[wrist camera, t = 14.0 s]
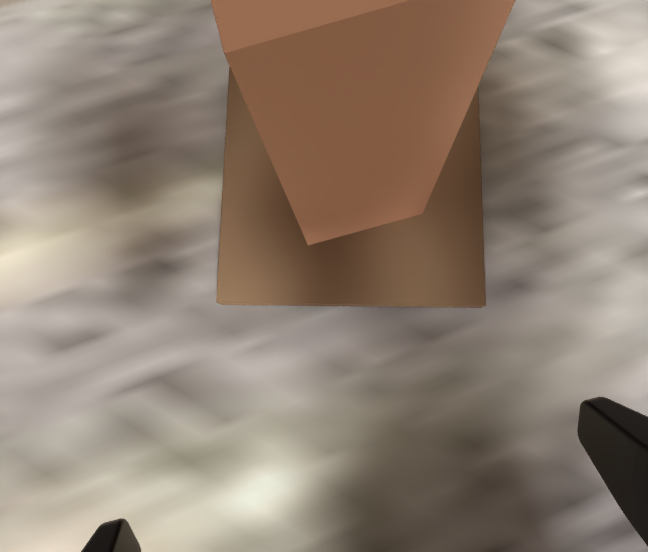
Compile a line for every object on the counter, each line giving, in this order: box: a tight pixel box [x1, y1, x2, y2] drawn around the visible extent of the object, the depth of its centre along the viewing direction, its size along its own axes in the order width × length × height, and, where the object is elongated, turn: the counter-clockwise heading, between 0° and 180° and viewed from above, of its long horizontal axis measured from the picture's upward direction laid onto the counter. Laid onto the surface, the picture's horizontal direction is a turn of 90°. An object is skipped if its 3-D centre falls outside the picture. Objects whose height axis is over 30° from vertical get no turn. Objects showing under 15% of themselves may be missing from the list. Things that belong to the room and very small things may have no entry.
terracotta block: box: [211, 0, 515, 245], centre depth 13 cm, size 4×4×12 cm
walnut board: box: [216, 67, 486, 308], centre depth 20 cm, size 10×10×1 cm
